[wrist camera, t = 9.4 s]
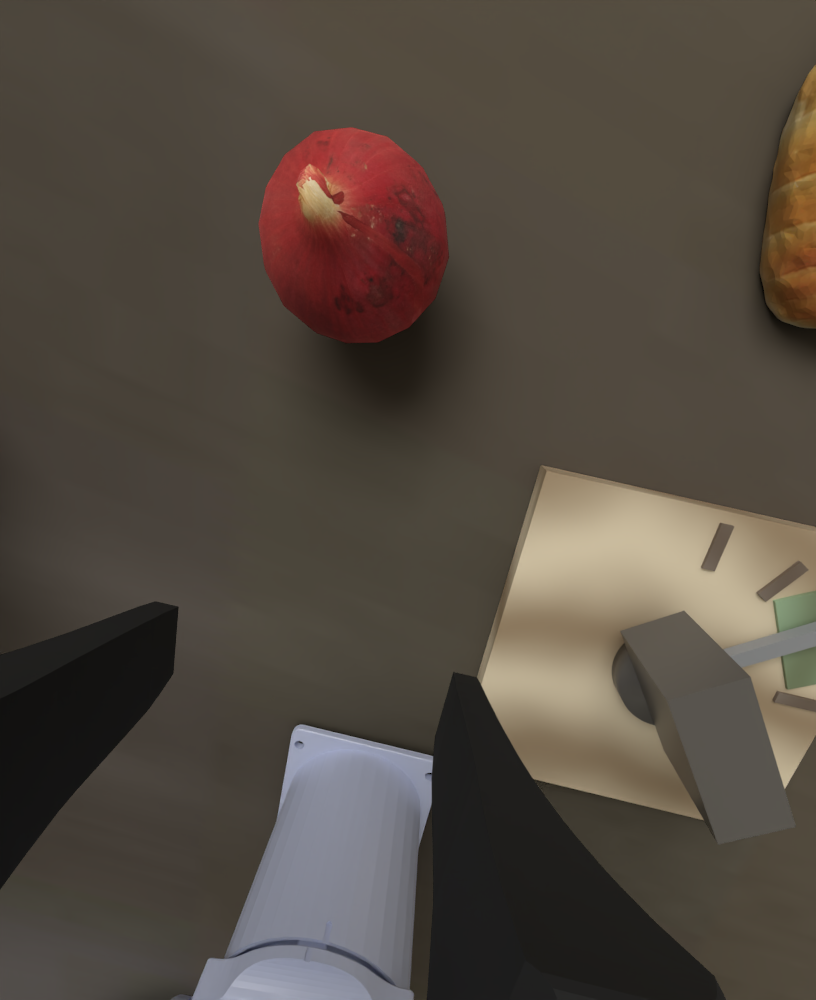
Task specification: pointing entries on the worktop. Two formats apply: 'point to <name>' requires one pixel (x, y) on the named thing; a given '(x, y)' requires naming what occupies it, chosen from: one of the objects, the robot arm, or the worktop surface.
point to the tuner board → (633, 601)
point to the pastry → (793, 217)
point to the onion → (353, 235)
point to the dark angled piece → (710, 718)
